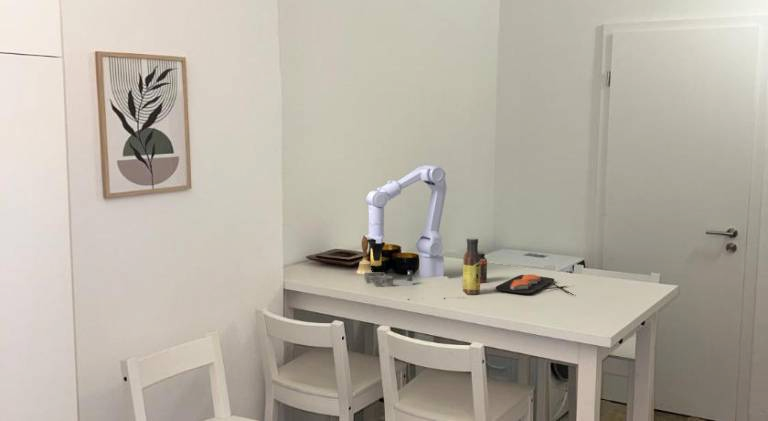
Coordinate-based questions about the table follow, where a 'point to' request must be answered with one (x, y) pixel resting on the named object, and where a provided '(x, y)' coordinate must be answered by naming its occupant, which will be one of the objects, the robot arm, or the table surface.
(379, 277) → the dock
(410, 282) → the lock pin
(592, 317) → the table surface
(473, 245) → the sauce bottle
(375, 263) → the yellow cylinder
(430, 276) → the robot arm
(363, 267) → the hand bell
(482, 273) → the supplement bottle
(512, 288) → the sushi plate
